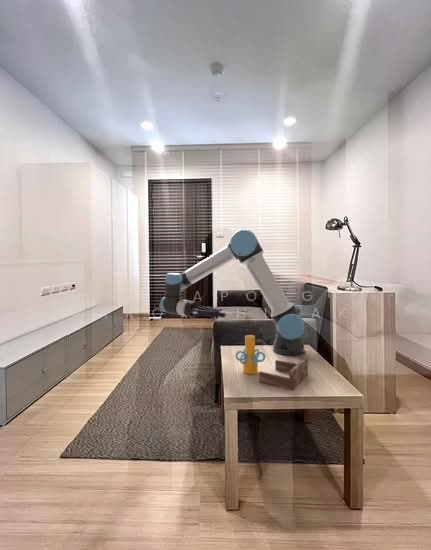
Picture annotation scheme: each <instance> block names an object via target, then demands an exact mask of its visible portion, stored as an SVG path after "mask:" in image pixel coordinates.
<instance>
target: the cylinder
mask: <svg viewBox="0 0 431 550" xmlns="http://www.w3.org/2000/svg"><path fill="white" fill-rule="evenodd" d="M244 339H245V340H244V343H245V345H244V346H245V347H244V349H243V350H238V351H237V352H236V353H235V359H236V360H237V361H239V362H240V364H242V370H243V373H244V374H247V375H255V374H257V373H259V372H258V371H259V370H258V369H259V368H258V366H259V365H258V363H262V362H263V361H265V360H266V355H265V353H264V352H262V351H260V350H259V349H258V348H256V336H255V335H253V334H246V335H244ZM240 353H241V355H240V358H239V354H240ZM260 355H262V359H259V356H260Z"/></svg>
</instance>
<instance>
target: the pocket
mask: <svg viewBox="0 0 431 550" xmlns="http://www.w3.org/2000/svg"><path fill="white" fill-rule="evenodd" d="M308 360H309V359H308V358H307V357H304V358H302V360H300V361H299V362H298V363H294V362H290V361H284V360H278V359H276V360H275V371H276V372H277V371H278V372H283V373H287V374H289V377H287V376H283V375H277V374H275V373H274V374H273V373H269V372H264V371H259V372H258V383H259V384H262V385H267V386H270V387H275V388H279V389H284V390H287V391H291V392H293V391H294V390H295V389H297V387H298V386H299V385H301V383H302V382H303V381H304V380H305V379H306V378H307V377H308V368H309V367H308V366H309V364H308V363H309V361H308Z"/></svg>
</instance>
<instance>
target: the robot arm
mask: <svg viewBox="0 0 431 550" xmlns="http://www.w3.org/2000/svg"><path fill="white" fill-rule="evenodd" d="M263 254H264V249H263V248H262V246H261V244H260V243H259V241H258V238H257V236H256V235H255V233H254V232H253V231H252V230H250V229H246V228H244V229H239V230H236V231H235V232H234V233H233V234H232V236H231V238H230V241H229V242H227V244H226V246H225V247H222V249H220V250H218V251H217V252H215V253H213V254H211V255H209V257H208V256H207V258H205V259H203V260H202V261H200V262H198V263H197V264H195V265H194V266H192V267H190V268H189V269H187V270H185V271H183V272H182V273H180V272H179V273H177V272H168V273H166V274H165V279H164V282H165V286H164V289H165V290H164V291H165V292H164V293H165V294H164V296H163V297H162V298H161V299H160V302H159V308H160V309H159V310H161V311H162V313H163V312H164V313H167V314H170V315H171V314H172V315H178V316H181V317H182V318H184V317H187V318H193V319H195V318H196V317H198V316H199V317H207V318H214V319H215V320H218V319H226V320H231V321H232V320H234V314H235V312H231V311H224V310H223V309H221V308H219V309H218V308H215V307H211V306H205V305H200V304H199V302H198V301H194V300H189V299H183V298H181V297H182V291H183V290H186V289H187V288H189V287H190V286H192V285H193V284H195V283H197V282H198V281H200V280H201V279H204V278H205V277H207V276H208V275H210V274H212V273H213V272H215V271H217V270H219V269H220V268H222V267H224V266H226V265H227V264H228V263H230V262H232V261H234V260H237V261H239V262H240V265H243V266H244V265H245V266H246V268H247V270H248V271H249V273H250V276H251V277H252V279H253V281H254V282H255V284H256V286H257V288H258V289H259V290H260V293H261V295H262V296H263V298H264V300H265V302H266V303H267V305H268V308H269V309H270V310H271V313H270V317H271V319H272V320H273V322H274V325H275V326H276V336H275V339H274V341H273V344H272V349H273V351H274V353H276V354H279V355H285V356H297V355H302V354H303V353H305V346H304V342H303V340H302V335H303V333H304V331H305V321H304V319H303V317H302V316H301V314H302V313H301V312H302V310H301V305H299V304H294V303H293V302H290V301H289V300H288V299H287V297H286V295H285V293H284V291H283V290H282V287H280V284H279V283H278V281H277V279H276V277H275V276H274V274H273V272H272V271H271V269H270V267H269V265H268V263H267V262H266V260H265V258H264V256H263Z"/></svg>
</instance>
